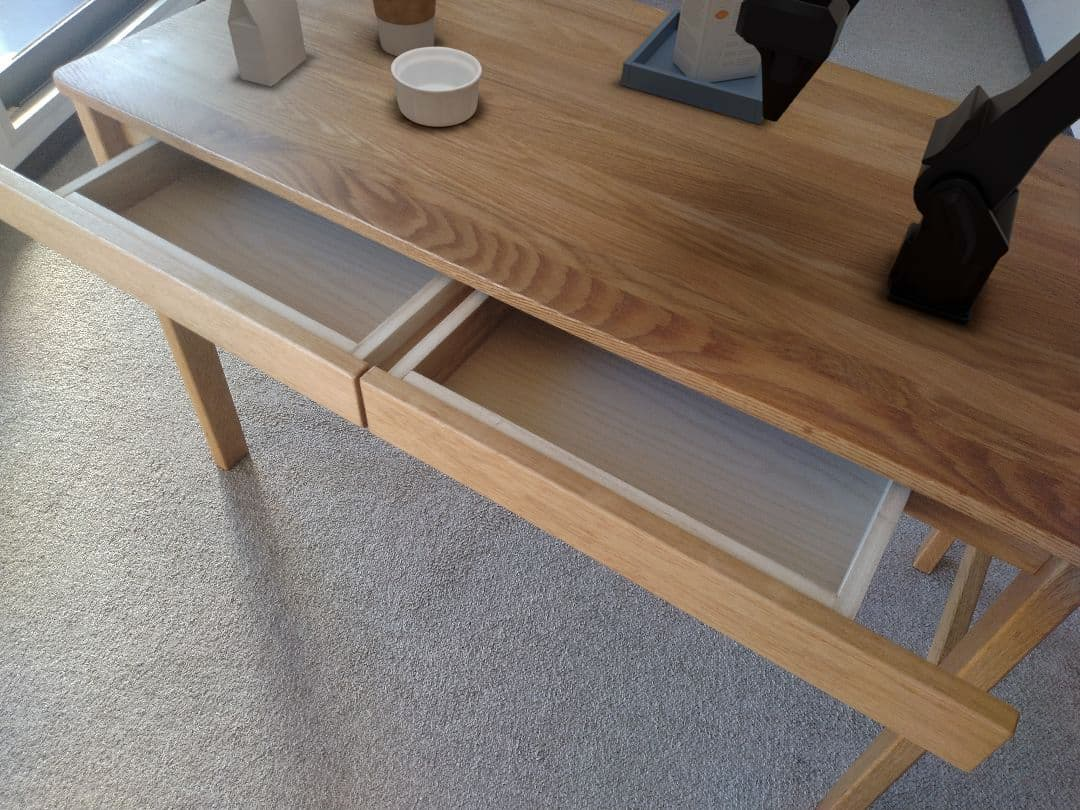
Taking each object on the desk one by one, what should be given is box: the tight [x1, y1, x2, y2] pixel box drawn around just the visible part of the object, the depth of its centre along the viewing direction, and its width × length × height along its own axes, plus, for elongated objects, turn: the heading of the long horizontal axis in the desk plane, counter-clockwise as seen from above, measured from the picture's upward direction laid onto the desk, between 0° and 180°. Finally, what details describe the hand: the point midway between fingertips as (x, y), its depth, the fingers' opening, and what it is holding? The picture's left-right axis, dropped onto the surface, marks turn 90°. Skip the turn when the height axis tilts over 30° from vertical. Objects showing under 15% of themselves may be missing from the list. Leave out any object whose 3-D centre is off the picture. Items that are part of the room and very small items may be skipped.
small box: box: [673, 0, 761, 83], centre depth 88 cm, size 8×6×10 cm
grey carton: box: [227, 0, 307, 87], centre depth 85 cm, size 4×7×10 cm, turn 159°
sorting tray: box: [620, 7, 765, 125], centre depth 92 cm, size 16×16×2 cm
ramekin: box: [390, 46, 483, 128], centre depth 84 cm, size 9×9×4 cm
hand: (786, 92), depth 64 cm, fingers open, 9 cm apart
